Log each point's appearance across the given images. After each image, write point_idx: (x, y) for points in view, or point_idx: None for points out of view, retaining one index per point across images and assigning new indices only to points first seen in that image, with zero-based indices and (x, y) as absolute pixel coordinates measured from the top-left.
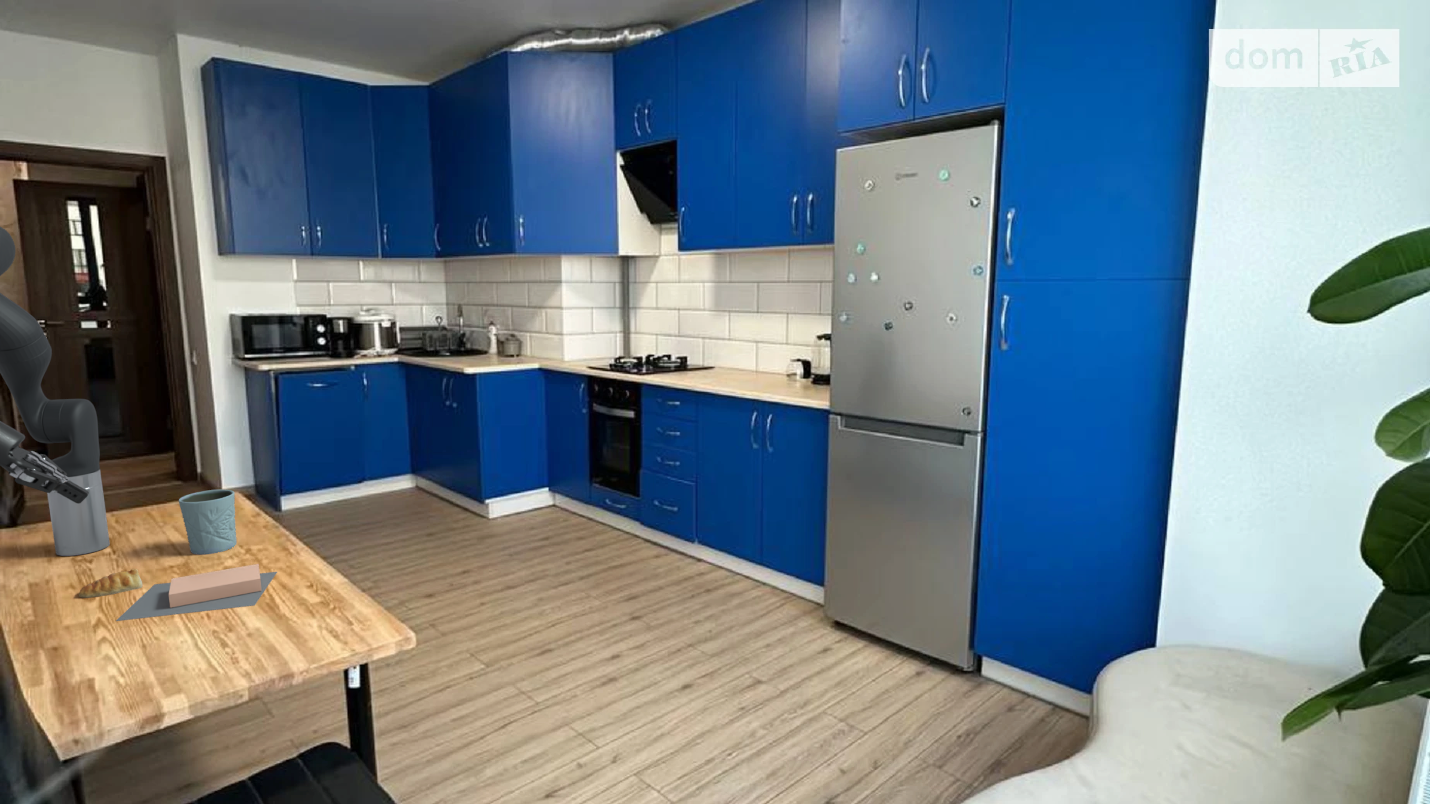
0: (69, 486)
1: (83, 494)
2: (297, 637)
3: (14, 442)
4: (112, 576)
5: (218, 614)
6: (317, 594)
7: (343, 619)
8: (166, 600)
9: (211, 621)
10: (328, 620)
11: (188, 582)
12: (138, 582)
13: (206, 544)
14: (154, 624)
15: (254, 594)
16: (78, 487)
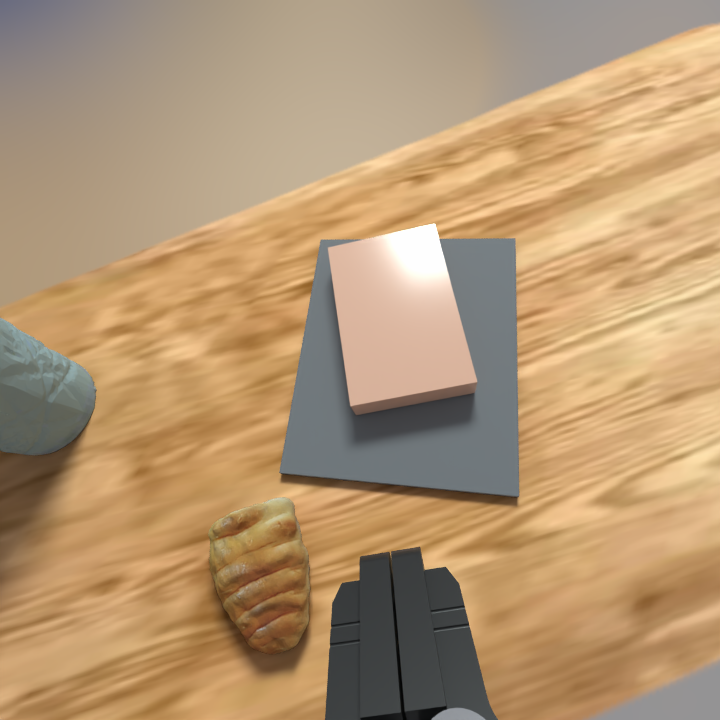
0: (450, 677)
1: (429, 571)
2: (693, 149)
3: None
4: (264, 565)
5: (525, 299)
6: (473, 160)
7: (621, 103)
8: (414, 415)
9: (563, 303)
10: (619, 122)
11: (399, 359)
12: (283, 502)
13: (75, 403)
14: (545, 410)
15: (448, 251)
16: (404, 612)
